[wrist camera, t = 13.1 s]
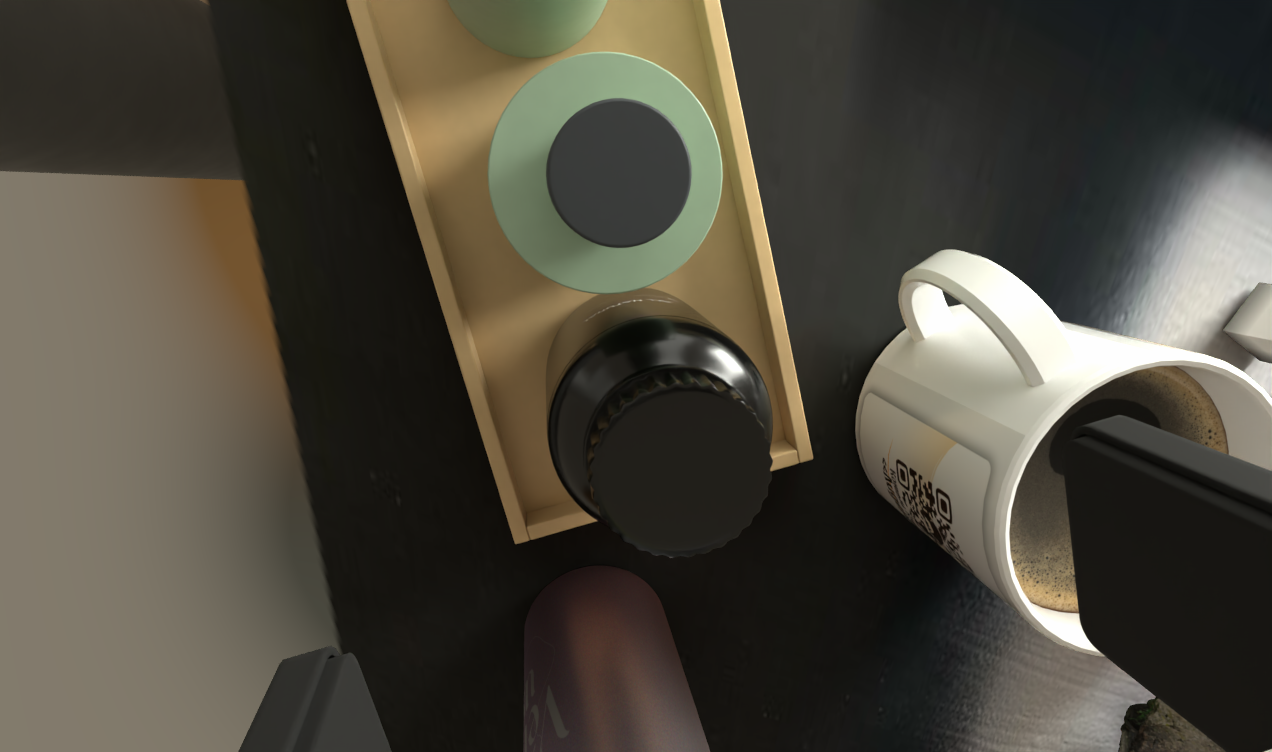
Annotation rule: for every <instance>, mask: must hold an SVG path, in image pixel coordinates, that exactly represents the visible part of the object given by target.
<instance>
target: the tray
mask: <svg viewBox="0 0 1272 752" xmlns="http://www.w3.org/2000/svg"><path fill="white" fill-rule="evenodd" d="M346 2H347V5H348V8H349V11H350V14H351V18H352V21H353V24H354V27H355V31H356V34H357V37H358V40H359V43H360V47H361V50H362V53H363V56H364V59H365V63H366V66H367V69H368V72H369V76H370V79H371V82H372V85H373V88H374V92H375V95H376V98H377V101H378V105H379V108H380V111H381V114H382V117H383V121H384V124H385V127H386V130H387V134H388V137H389V140H390V143H391V146H392V150H393V153H394V156H395V159H396V162H397V166H398V169H399V172H400V175H401V179H402V182H403V185H404V188H405V191H406V195H407V198H408V201H409V204H410V208H411V211H412V214H413V217H414V220H415V224H416V227H417V230H418V233H419V237H420V240H421V243H422V246H423V249H424V253H425V256H426V259H427V262H428V266H429V269H430V272H431V275H432V278H433V282H434V285H435V288H436V291H437V294H438V298H439V301H440V304H441V307H442V311H443V314H444V317H445V320H446V323H447V327H448V330H449V333H450V336H451V340H452V343H453V346H454V349H455V352H456V356H457V359H458V362H459V365H460V369H461V372H462V375H463V378H464V381H465V385H466V388H467V391H468V394H469V397H470V401H471V404H472V407H473V410H474V414H475V417H476V420H477V423H478V426H479V430H480V433H481V436H482V439H483V443H484V446H485V449H486V452H487V455H488V459H489V462H490V465H491V468H492V472H493V475H494V478H495V481H496V484H497V488H498V491H499V494H500V497H501V501H502V504H503V507H504V510H505V513H506V517H507V520H508V523H509V526H510V529H511V533H512V536H513V539H514V542H515V544H519V543H523V542H526V541H529V540H530V539H531V540H533V539H537V538H540V537H544V536H547V535H551V534H554V533H557V532H561V531H564V530H568V529H571V528H575V527H578V526H582V525H585V524H589V523H592V522H596V521H597V520H596V519H594V518H593V517H591V516H590V515H589V514H587V513H586V512H585V511H584V510H583V509H582V508H581V507H580V506H579V505H578V504H577V503H576V502H575V501H574V500H573V499H572V498H571V497H570V495H569V494H568V493H567V491H566V490H565V488H564V487H563V485H562V484H561V482H560V480H559V478H558V476H557V474H556V471H555V468H554V466H553V463H552V459H551V456H550V451H549V446H548V440H547V422H546V365H547V358H548V354H549V350H550V347H551V345H552V342H553V340H554V338H555V336H556V333H557V332H558V330H559V328H560V327H561V325H562V324H563V323H564V321H565V320H566V319H567V318H568V316H569V315H570V314H571V313H572V312H573V311H574V310H575V309H577V308H578V307H579V306H580V305H582V304H583V303H584V302H586V301H587V300H589V299H591V298H592V297H594V296H597V295H599V294H592V293H587V292H582V291H577V290H574V289H571V288H568V287H565V286H562V285H560V284H558V283H556V282H554V281H552V280H550V279H548V278H546V277H545V276H543V275H542V274H540V273H539V272H537V271H536V270H535V269H534V268H533V267H531V266H530V265H529V264H528V263H527V262H526V261H524V259H523V258H522V257H521V256H520V255H519V254H518V253H517V252H516V250H515V249H514V248H513V247H512V245H511V244H510V242H509V241H508V239H507V238H506V236H505V235H504V233H503V231H502V229H501V227H500V225H499V223H498V221H497V218H496V215H495V212H494V209H493V207H492V202H491V198H490V193H489V186H488V157H489V151H490V145H491V141H492V138H493V134H494V131H495V128H496V125H497V123H498V121H499V119H500V117H501V115H502V113H503V111H504V109H505V108H506V106H507V105H508V103H509V102H510V100H511V98H512V97H513V96H514V95H515V94H516V93H517V91H518V90H519V89H520V88H521V87H522V86H523V85H524V84H525V83H526V82H527V81H528V80H529V79H531V78H532V77H533V76H534V75H535V74H537V73H538V72H540V71H541V70H543V69H544V68H546V67H547V66H550V65H552V64H554V63H556V62H558V61H560V60H562V59H565V58H568V57H571V56H575V55H579V54H584V53H590V52H616V53H625V54H629V55H633V56H637V57H640V58H643V59H645V60H648V61H650V62H652V63H655V64H656V65H658V66H660V67H662V68H663V69H665V70H667V71H669V72H670V73H671V74H672V75H674V76H675V77H676V78H678V79H679V80H680V81H681V82H682V83H683V84H684V85H685V86H686V87H687V88H688V89H689V90H690V91H691V92H692V93H693V94H694V95H695V97H696V98H697V99H698V101H699V102H700V103H701V105H702V106H703V108H704V110H705V112H706V113H707V115H708V117H709V118H710V121H711V123H712V126H713V128H714V130H715V133H716V136H717V140H718V143H719V147H720V153H721V159H722V189H721V196H720V201H719V205H718V210H717V212H716V215H715V218H714V221H713V223H712V225H711V227H710V229H709V231H708V233H707V235H706V237H705V239H704V240H703V242H702V243H701V244H700V246H699V247H698V249H697V250H696V251H695V252H694V254H693V255H692V256H691V257H690V258H689V259H688V260H687V261H686V262H685V263H684V264H683V265H682V266H681V267H679V268H678V269H677V270H676V271H675V272H673V273H672V274H670V275H669V276H667V277H666V278H664V279H663V280H661V281H658V282H656V283H654V284H652V285H650V286H648V287H645V288H652V289H656V290H660V291H663V292H666V293H668V294H671V295H673V296H675V297H677V298H679V299H680V300H682V301H683V302H685V303H686V304H688V305H689V306H691V307H692V308H693V309H695V310H696V311H697V312H698V313H700V314H701V315H702V316H703V317H705V318H706V319H707V320H708V321H710V322H711V323H712V324H713V325H715V326H716V327H717V328H718V329H720V330H721V331H722V332H723V333H725V334H726V335H727V336H728V337H730V338H731V339H732V340H733V341H734V342H735V343H737V344H738V345H739V346H740V347H741V348H742V349H743V350H744V352H745V353H746V354H747V355H748V356H749V357H750V359H751V360H752V361H753V363H754V364H755V366H756V367H757V369H758V371H759V372H760V374H761V376H762V378H763V380H764V382H765V385H766V387H767V390H768V394H769V397H770V401H771V406H772V415H773V434H772V442H771V447H770V455H771V457H772V459H773V464H772V466H771V469H770V471H774V470H777V469H781V468H784V467H788V466H791V465H795V464H798V463H799V462H800V463H802V462H805V461H809V460H812V459H813V454H812V449H811V444H810V439H809V434H808V429H807V424H806V419H805V415H804V410H803V405H802V400H801V395H800V390H799V385H798V380H797V376H796V371H795V366H794V361H793V356H792V351H791V346H790V341H789V337H788V332H787V327H786V322H785V317H784V312H783V307H782V302H781V298H780V293H779V288H778V283H777V278H776V273H775V268H774V263H773V259H772V254H771V249H770V244H769V239H768V234H767V229H766V224H765V220H764V215H763V210H762V205H761V200H760V195H759V190H758V185H757V181H756V176H755V171H754V166H753V161H752V156H751V151H750V146H749V141H748V137H747V132H746V127H745V122H744V117H743V112H742V107H741V102H740V98H739V93H738V88H737V83H736V78H735V73H734V68H733V63H732V59H731V54H730V49H729V44H728V39H727V34H726V29H725V24H724V20H723V15H722V10H721V5H720V0H608V1H607V3H606V6H605V8H604V10H603V12H602V14H601V16H600V18H599V19H598V21H597V22H596V24H595V25H594V27H593V28H592V29H591V30H590V31H589V32H588V34H587V35H586V36H584V37H583V38H582V39H581V40H580V41H579V42H577V43H576V44H574V45H573V46H571V47H570V48H568V49H566V50H564V51H562V52H559V53H556V54H553V55H550V56H545V57H539V58H524V57H515V56H511V55H507V54H504V53H502V52H499V51H496V50H494V49H492V48H490V47H489V46H487V45H485V44H484V43H482V42H481V41H479V40H478V39H477V38H475V37H474V36H473V35H472V34H471V33H470V32H469V31H468V30H467V29H466V28H465V27H464V26H463V25H462V23H461V22H460V21H459V20H458V18H457V17H456V15H455V14H454V12H453V11H452V9H451V7H450V5H449V3H448V1H447V0H346Z"/></svg>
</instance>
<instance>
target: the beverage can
mask: <svg viewBox="0 0 1272 752" xmlns="http://www.w3.org/2000/svg"><path fill="white" fill-rule="evenodd" d="M524 752H710V750H709V747H708V744H707V741H706V737H705V734H704V731H703V728H702V725H701V722H700V719H699V716H698V713H697V710H696V707H695V704H694V701H693V698H692V695H691V692H690V688H689V685H688V682H687V679H686V676H685V673H684V670H683V667H682V664H681V661H680V658H679V655H678V652H677V649H676V646H675V643H674V640H673V636H672V633H671V630H670V627H669V624H668V621H667V618H666V615H665V612H664V609H663V606H662V604H661V601H660V599H659V598H658V596H657V594H656V593H655V592H654V590H653V589H652V588H651V587H650V586H649V585H648V584H647V583H646V582H645V581H644V580H642V579H641V578H640V577H638V576H637V575H635V574H633V573H631V572H629V571H626V570H623V569H620V568H616V567H611V566H588V567H583V568H579V569H575V570H572V571H570V572H567V573H565V574H563V575H561V576H560V577H558V578H556V579H555V580H554V581H552V582H551V583H550V584H548V585H547V586H546V587H545V588H544V589H543V590H542V591H541V592H540V594H539V595H538V596H537V598H536V599H535V601H534V602H533V604H532V606H531V608H530V610H529V612H528V615H527V619H526V623H525V630H524Z"/></svg>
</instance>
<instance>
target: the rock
mask: <svg viewBox="0 0 1272 752" xmlns="http://www.w3.org/2000/svg"><path fill="white" fill-rule="evenodd" d="M1124 721H1125V723H1124V724H1123V725H1122V726H1121V731H1122V735H1121V740H1120V744H1119V745H1120V748H1119V751H1118V752H1226V751H1225V750H1223V749H1222V748H1221V747H1220V746H1218V745H1217V744H1216V743H1214V742H1213V741H1212V740H1211V739H1209V738H1208V737H1207V736H1206V735H1204V734H1203V733H1202V732H1201V731H1199V730H1198V729H1197V728H1195V727H1194V726H1193V725H1192V724H1190V723H1189V722H1188V721H1187V720H1185V719H1184V718H1183V717H1182V716H1180V715H1179V714H1178V713H1177V712H1175V711H1174V710H1173V709H1171V708H1170V707H1169V706H1168V705H1166V704H1165V703H1164V702H1163V701H1161V700H1160V699H1159V698H1158V697H1156V698H1155V699H1151V700H1148V702H1147V704H1135V705H1132V706H1130V707H1129V708H1128V710H1127V712H1126V715H1125V717H1124Z"/></svg>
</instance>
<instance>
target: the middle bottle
mask: <svg viewBox="0 0 1272 752" xmlns="http://www.w3.org/2000/svg"><path fill="white" fill-rule="evenodd" d="M488 186H489V193H490V198H491V202H492V207H493V209H494V212H495V215H496V218H497V221H498V223H499V225H500V227H501V229H502V231H503V233H504V235H505V236H506V238H507V239H508V241H509V242H510V244H511V245H512V247H513V248H514V249H515V250H516V252H517V253H518V254H519V255H520V256H521V257H522V258H523V259H524V261H526V262H527V263H528V264H529V265H530V266H531V267H533V268H534V269H535V270H536V271H537V272H539V273H540V274H542V275H543V276H545V277H546V278H548V279H550V280H552V281H554V282H556V283H558V284H560V285H562V286H565V287H568V288H571V289H574V290H577V291H582V292H587V293H592V294H621V293H626V292H631V291H636V290H639V289H642V288H645V287H648V286H650V285H652V284H654V283H656V282H658V281H661V280H663V279H664V278H666V277H667V276H669V275H670V274H672V273H673V272H675V271H676V270H677V269H678V268H679V267H681V266H682V265H683V264H684V263H685V262H686V261H687V260H688V259H689V258H690V257H691V256H692V255H693V254H694V252H695V251H696V250H697V249H698V247H699V246H700V244H701V243H702V242H703V240H704V239H705V237H706V235H707V233H708V231H709V229H710V227H711V225H712V223H713V221H714V218H715V215H716V212H717V210H718V205H719V201H720V196H721V189H722V159H721V153H720V147H719V143H718V140H717V136H716V133H715V130H714V128H713V126H712V123H711V121H710V118H709V117H708V115H707V113H706V112H705V110H704V108H703V106H702V105H701V103H700V102H699V101H698V99H697V98H696V97H695V95H694V94H693V93H692V92H691V91H690V90H689V89H688V88H687V87H686V86H685V85H684V84H683V83H682V82H681V81H680V80H679V79H678V78H676V77H675V76H674V75H672V74H671V73H670V72H669V71H667V70H665V69H663V68H662V67H660V66H658V65H656V64H655V63H652V62H650V61H648V60H645V59H643V58H640V57H637V56H633V55H629V54H625V53H616V52H590V53H584V54H579V55H575V56H571V57H568V58H565V59H562V60H560V61H558V62H556V63H554V64H552V65H550V66H547V67H546V68H544V69H543V70H541V71H540V72H538V73H537V74H535V75H534V76H533V77H532V78H531V79H529V80H528V81H527V82H526V83H525V84H524V85H523V86H522V87H521V88H520V89H519V90H518V91H517V93H516V94H515V95H514V96H513V97H512V98H511V100H510V102H509V103H508V105H507V106H506V108H505V109H504V111H503V113H502V115H501V117H500V119H499V121H498V123H497V125H496V128H495V131H494V134H493V138H492V141H491V145H490V151H489V157H488Z"/></svg>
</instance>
